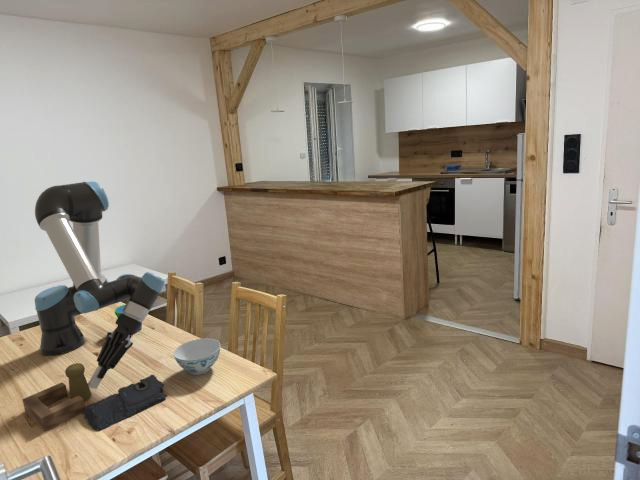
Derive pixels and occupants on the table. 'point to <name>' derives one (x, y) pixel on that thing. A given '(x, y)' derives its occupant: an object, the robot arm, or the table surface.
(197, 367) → the chinaware
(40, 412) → the walnut pocket
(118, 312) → the snack cup
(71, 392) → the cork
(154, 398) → the dark slate chunk
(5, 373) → the table surface
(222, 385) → the table surface
